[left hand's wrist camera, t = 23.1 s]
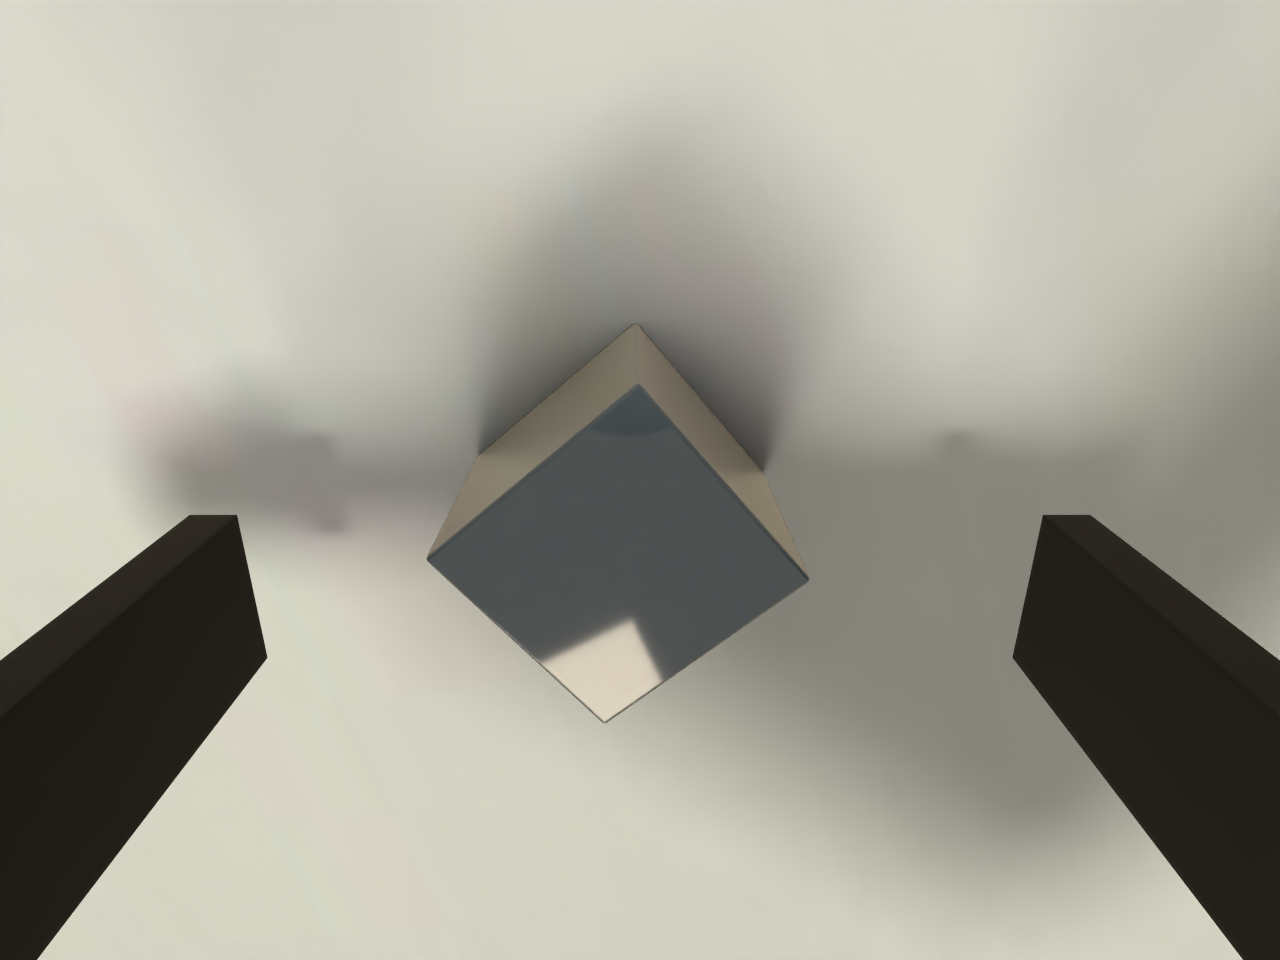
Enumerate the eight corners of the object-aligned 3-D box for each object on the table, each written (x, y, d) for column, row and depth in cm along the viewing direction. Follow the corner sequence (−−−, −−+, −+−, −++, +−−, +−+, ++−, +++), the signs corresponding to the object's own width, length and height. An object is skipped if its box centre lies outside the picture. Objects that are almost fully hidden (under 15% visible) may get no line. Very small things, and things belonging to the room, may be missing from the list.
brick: (636, 321, 16) (638, 382, 11) (765, 474, 17) (812, 581, 13) (475, 457, 17) (423, 560, 12) (610, 591, 18) (604, 726, 14)
